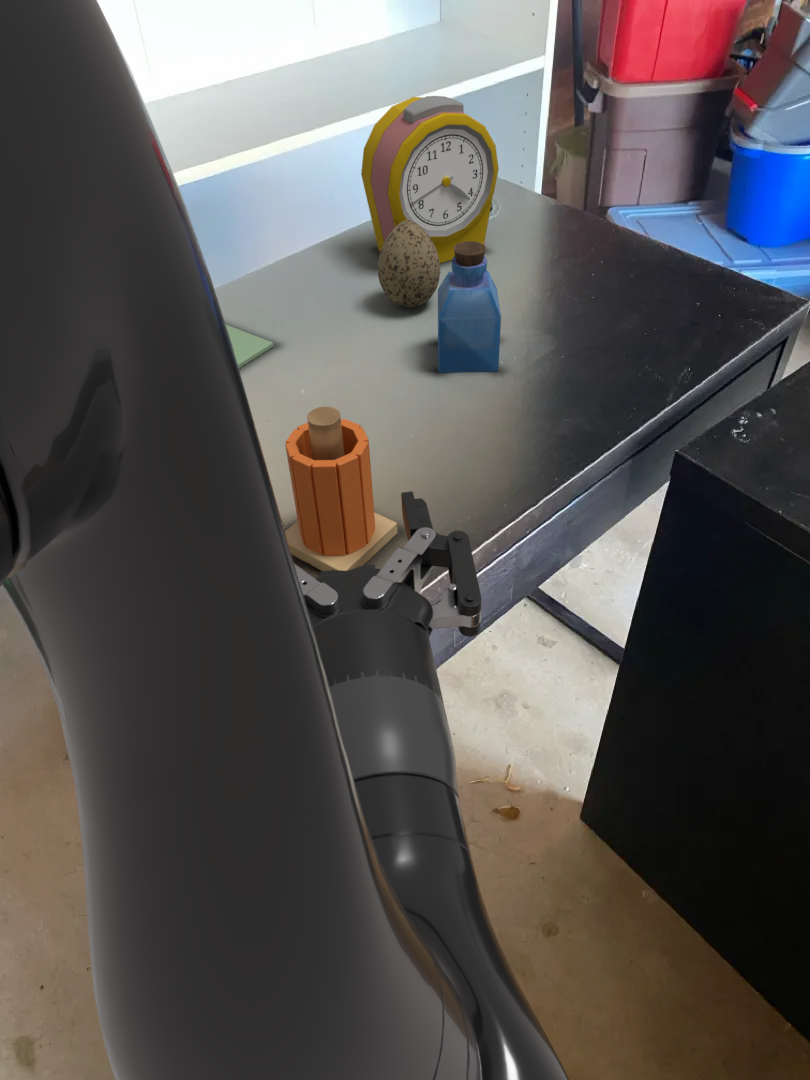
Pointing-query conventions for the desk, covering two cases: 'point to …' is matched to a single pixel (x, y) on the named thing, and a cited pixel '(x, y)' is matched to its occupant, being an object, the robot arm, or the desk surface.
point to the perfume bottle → (468, 314)
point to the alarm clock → (430, 172)
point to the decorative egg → (408, 265)
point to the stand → (331, 447)
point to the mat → (246, 345)
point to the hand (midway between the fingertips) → (338, 510)
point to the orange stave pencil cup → (332, 492)
